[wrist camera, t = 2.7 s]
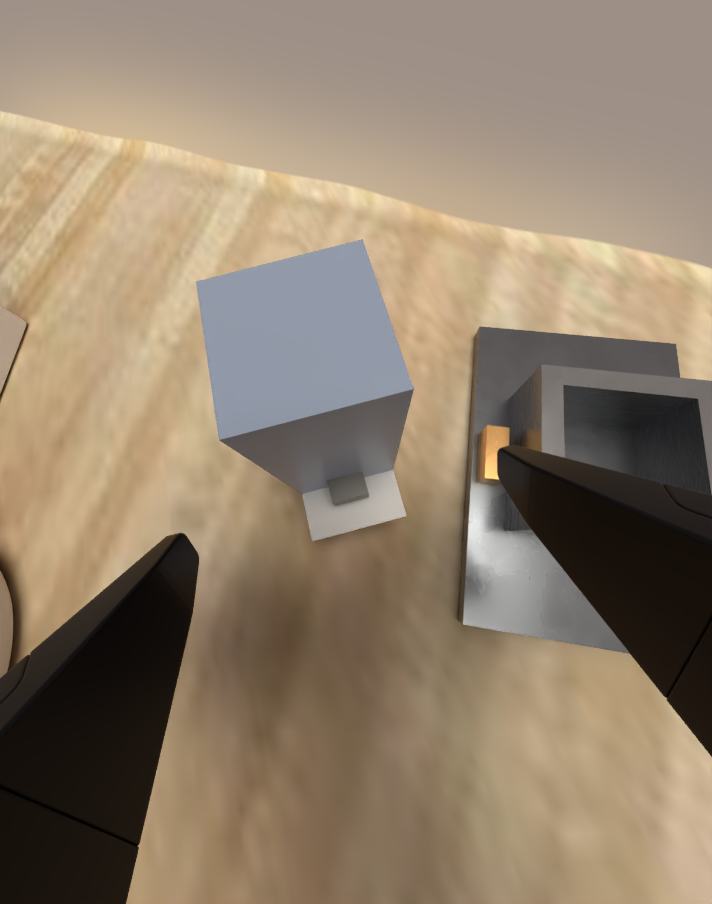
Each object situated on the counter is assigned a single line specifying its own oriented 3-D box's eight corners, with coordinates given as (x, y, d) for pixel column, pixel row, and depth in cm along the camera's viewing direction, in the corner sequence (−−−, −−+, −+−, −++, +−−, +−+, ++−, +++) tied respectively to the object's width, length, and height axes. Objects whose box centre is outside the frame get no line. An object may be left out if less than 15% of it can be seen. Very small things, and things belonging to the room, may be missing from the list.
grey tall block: (399, 521, 19) (446, 484, 7) (326, 541, 19) (234, 541, 7) (360, 389, 22) (342, 179, 9) (296, 406, 21) (186, 218, 9)
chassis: (697, 661, 16) (830, 711, 12) (458, 619, 17) (489, 649, 13) (662, 353, 21) (747, 297, 16) (475, 335, 22) (502, 278, 17)
